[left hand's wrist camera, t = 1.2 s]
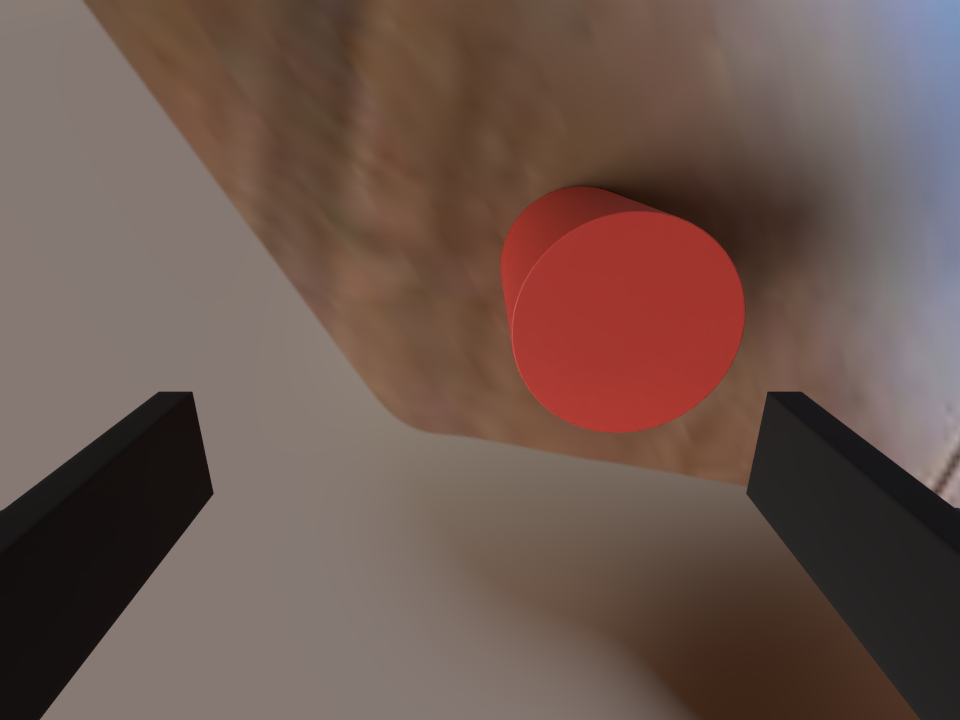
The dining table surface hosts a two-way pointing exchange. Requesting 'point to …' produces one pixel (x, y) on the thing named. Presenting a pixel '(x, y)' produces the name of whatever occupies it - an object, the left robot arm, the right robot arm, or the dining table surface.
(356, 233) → the dining table surface
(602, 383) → the can
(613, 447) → the dining table surface
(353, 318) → the dining table surface
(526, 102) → the dining table surface
